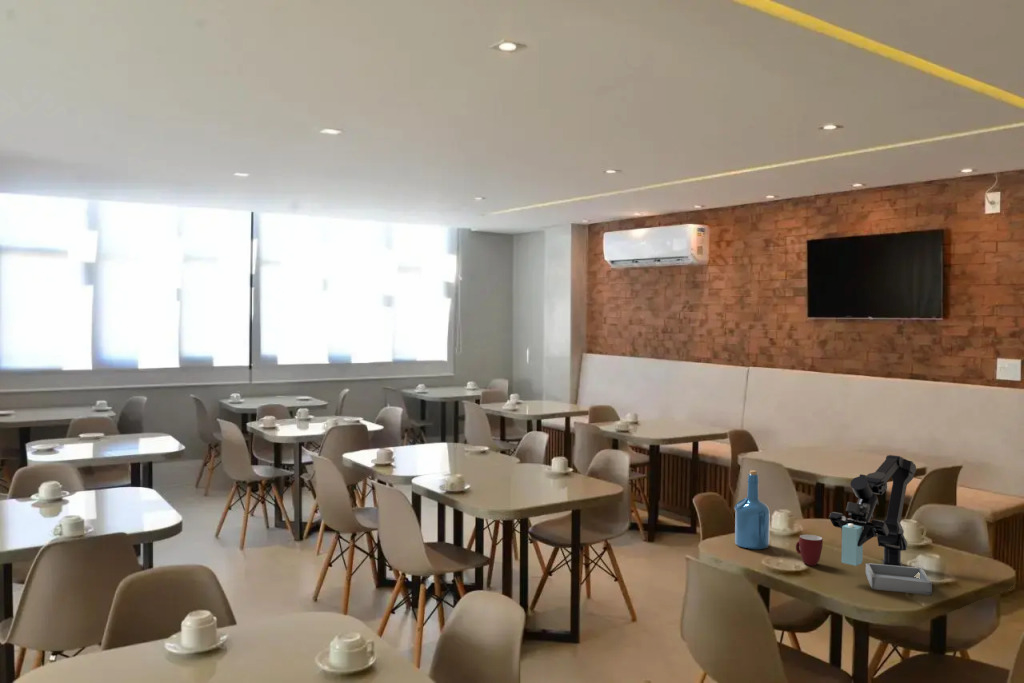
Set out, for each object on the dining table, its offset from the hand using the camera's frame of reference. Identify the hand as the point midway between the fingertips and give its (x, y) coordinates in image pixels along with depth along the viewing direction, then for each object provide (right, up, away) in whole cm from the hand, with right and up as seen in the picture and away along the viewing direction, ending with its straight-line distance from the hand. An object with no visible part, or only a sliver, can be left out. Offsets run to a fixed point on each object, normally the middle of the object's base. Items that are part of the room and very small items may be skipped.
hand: (850, 544), depth 269 cm
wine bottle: (-20, -13, +46) cm, 52 cm away
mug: (-6, -13, +23) cm, 27 cm away
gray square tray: (+16, -14, +1) cm, 21 cm away
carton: (+1, -7, +1) cm, 7 cm away
